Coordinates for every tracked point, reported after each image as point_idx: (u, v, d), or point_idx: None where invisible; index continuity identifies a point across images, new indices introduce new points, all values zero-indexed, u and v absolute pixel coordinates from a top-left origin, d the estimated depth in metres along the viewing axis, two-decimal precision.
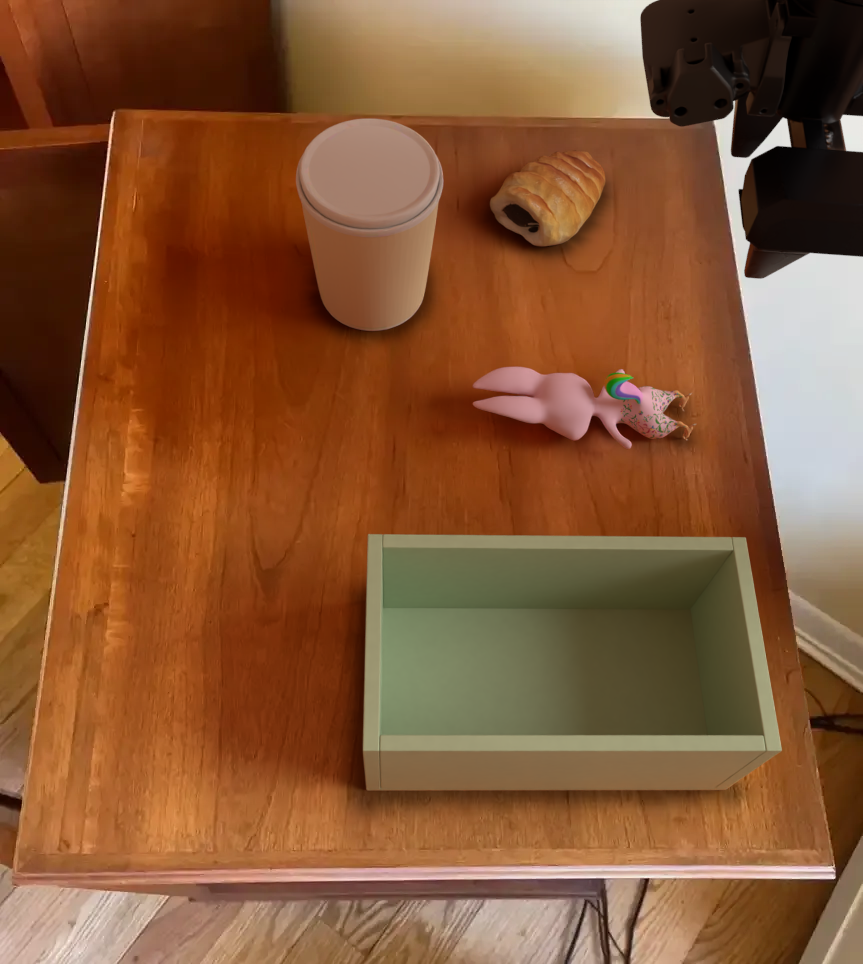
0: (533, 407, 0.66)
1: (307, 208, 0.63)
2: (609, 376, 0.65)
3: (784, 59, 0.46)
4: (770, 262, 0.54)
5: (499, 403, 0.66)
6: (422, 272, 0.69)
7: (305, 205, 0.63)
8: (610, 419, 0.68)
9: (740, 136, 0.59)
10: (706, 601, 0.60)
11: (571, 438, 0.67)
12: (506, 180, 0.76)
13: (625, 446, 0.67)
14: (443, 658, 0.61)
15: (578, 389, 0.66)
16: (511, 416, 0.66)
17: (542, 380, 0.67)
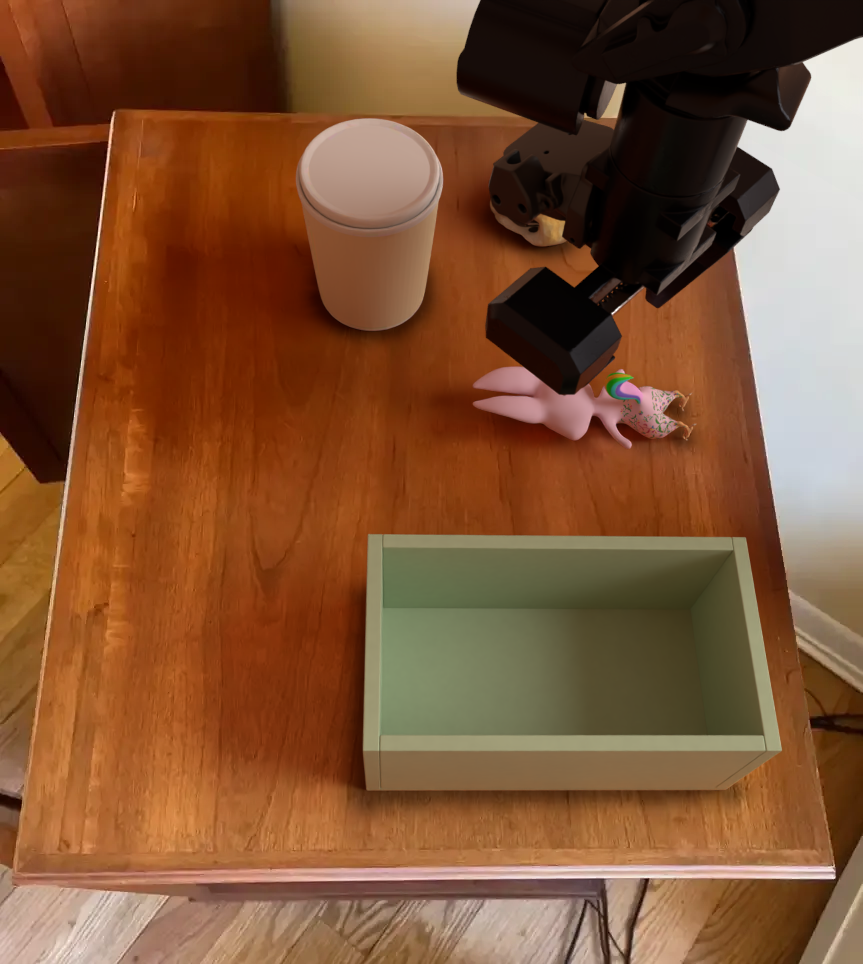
0: (533, 407, 0.66)
1: (307, 208, 0.63)
2: (609, 376, 0.65)
3: (585, 201, 0.51)
4: None
5: (499, 403, 0.66)
6: (422, 272, 0.69)
7: (305, 205, 0.63)
8: (610, 419, 0.68)
9: None
10: (706, 601, 0.60)
11: (571, 438, 0.67)
12: None
13: (625, 446, 0.67)
14: (443, 658, 0.61)
15: None
16: (511, 416, 0.66)
17: None
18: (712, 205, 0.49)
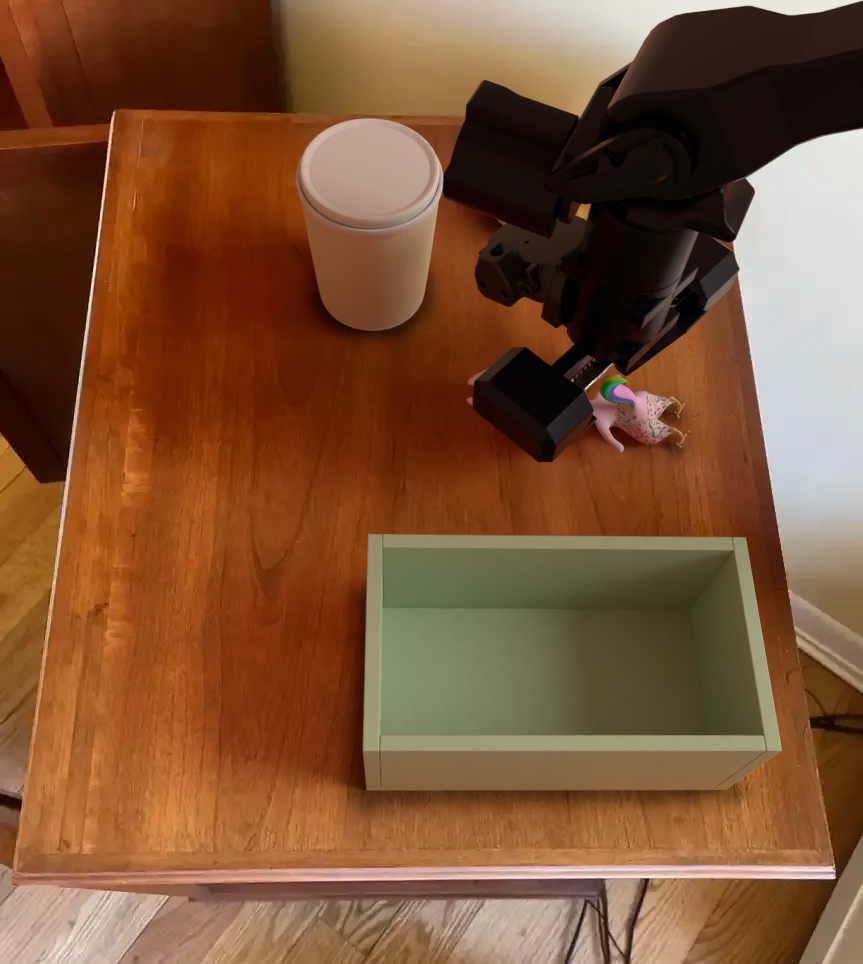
0: None
1: (307, 208, 0.63)
2: (604, 378, 0.65)
3: (560, 289, 0.57)
4: None
5: None
6: (422, 272, 0.69)
7: (305, 205, 0.63)
8: (603, 422, 0.67)
9: None
10: (706, 601, 0.60)
11: None
12: None
13: (617, 449, 0.67)
14: (443, 658, 0.61)
15: None
16: None
17: None
18: (673, 295, 0.55)
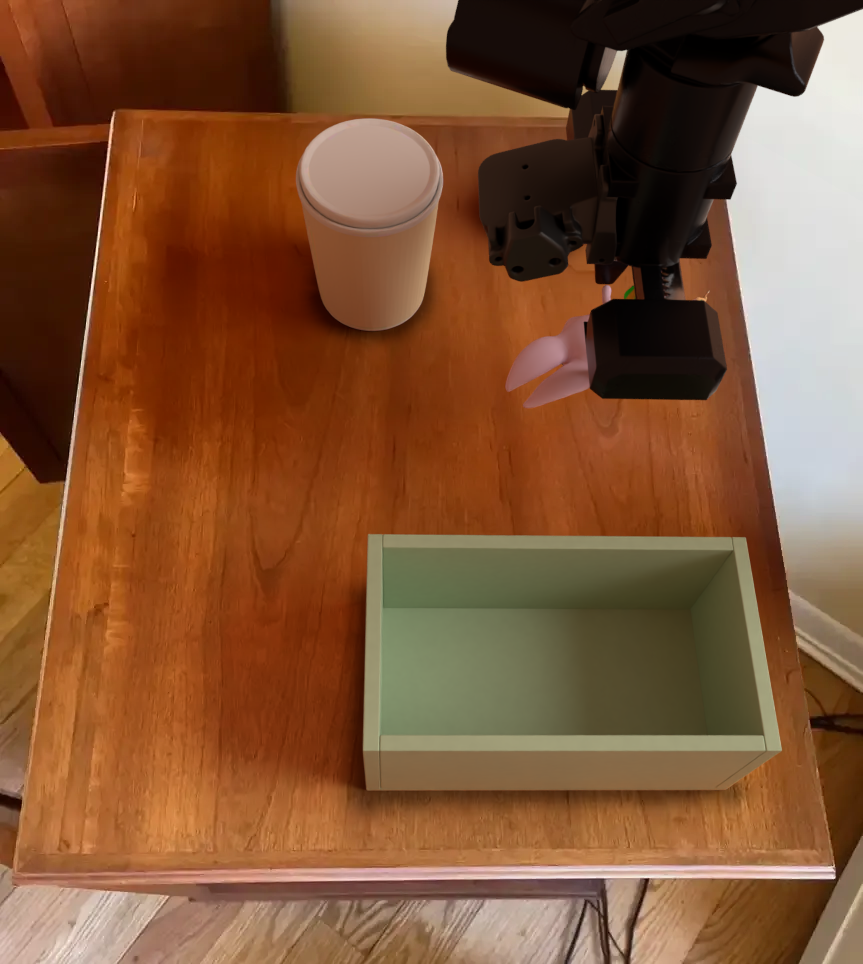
0: (583, 370, 0.56)
1: (307, 208, 0.63)
2: (631, 292, 0.57)
3: (613, 217, 0.47)
4: None
5: (552, 388, 0.55)
6: (422, 272, 0.69)
7: (305, 205, 0.63)
8: None
9: (602, 266, 0.60)
10: (706, 601, 0.60)
11: None
12: None
13: None
14: (443, 658, 0.61)
15: None
16: (573, 392, 0.55)
17: (565, 339, 0.57)
18: None
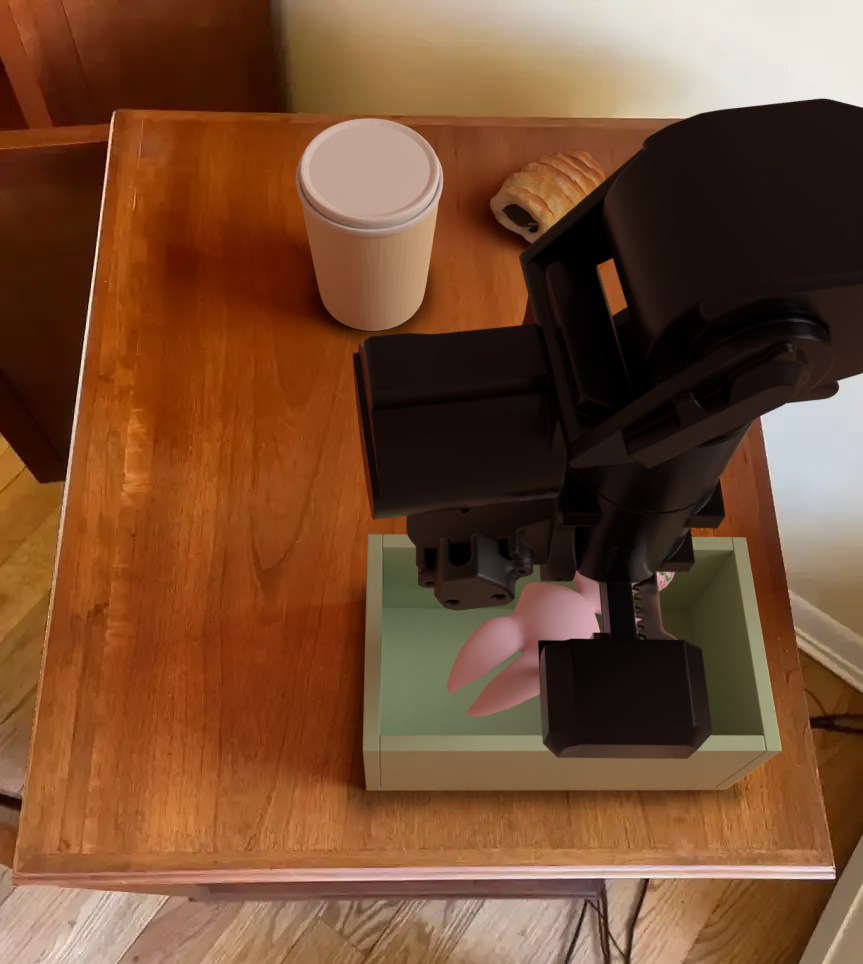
0: None
1: (307, 208, 0.63)
2: None
3: (571, 544, 0.38)
4: None
5: (503, 693, 0.46)
6: (422, 272, 0.69)
7: (305, 205, 0.63)
8: None
9: None
10: (706, 601, 0.60)
11: None
12: (506, 180, 0.76)
13: None
14: (443, 658, 0.61)
15: (572, 607, 0.47)
16: (528, 698, 0.46)
17: (521, 624, 0.47)
18: None
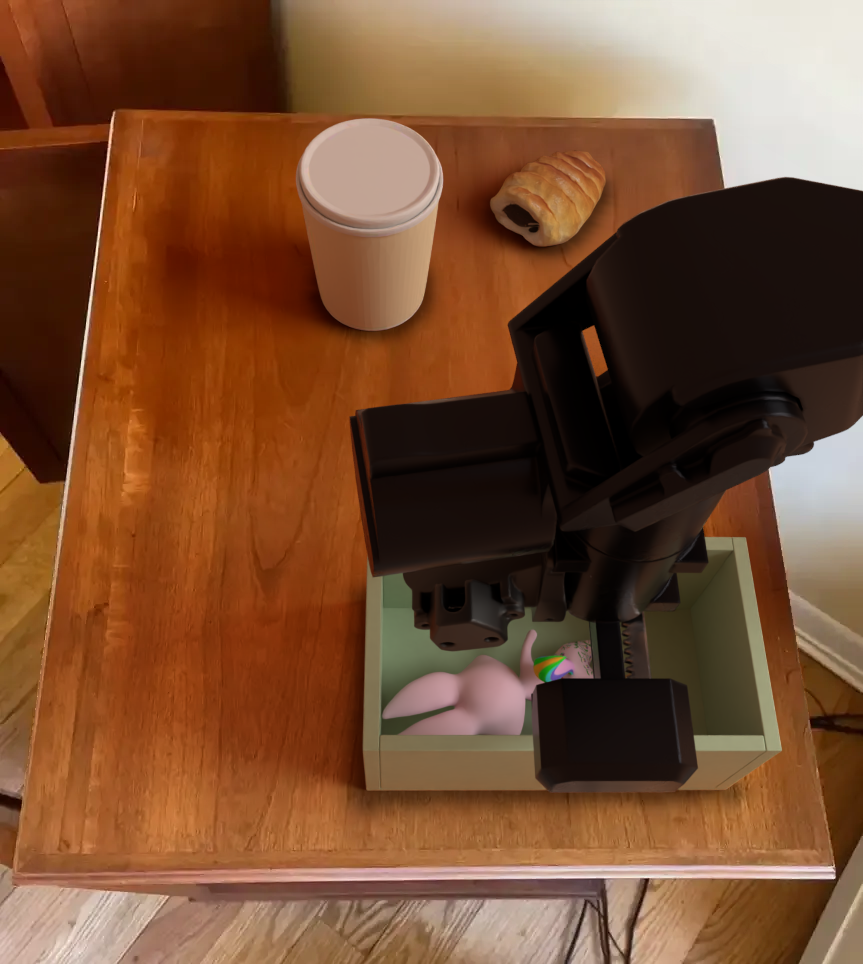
0: (463, 725, 0.54)
1: (307, 208, 0.63)
2: (539, 663, 0.55)
3: (561, 588, 0.39)
4: None
5: (424, 734, 0.54)
6: (422, 272, 0.69)
7: (305, 205, 0.63)
8: None
9: None
10: (706, 601, 0.60)
11: None
12: (506, 180, 0.76)
13: None
14: (443, 658, 0.61)
15: (507, 685, 0.55)
16: None
17: (460, 684, 0.55)
18: None
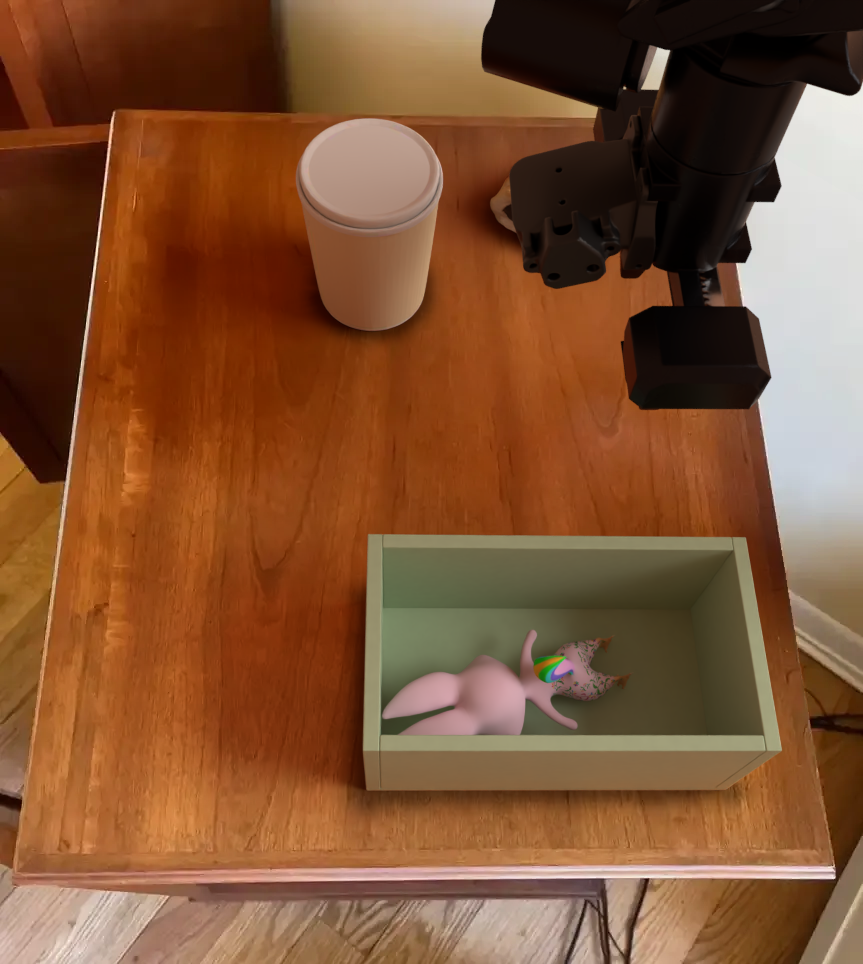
0: (463, 725, 0.54)
1: (307, 208, 0.63)
2: (539, 663, 0.55)
3: (652, 221, 0.46)
4: None
5: (424, 734, 0.54)
6: (422, 272, 0.69)
7: (305, 205, 0.63)
8: (544, 700, 0.57)
9: None
10: (706, 601, 0.60)
11: None
12: (506, 180, 0.76)
13: (571, 728, 0.57)
14: (443, 658, 0.61)
15: (507, 685, 0.55)
16: None
17: (460, 684, 0.55)
18: None
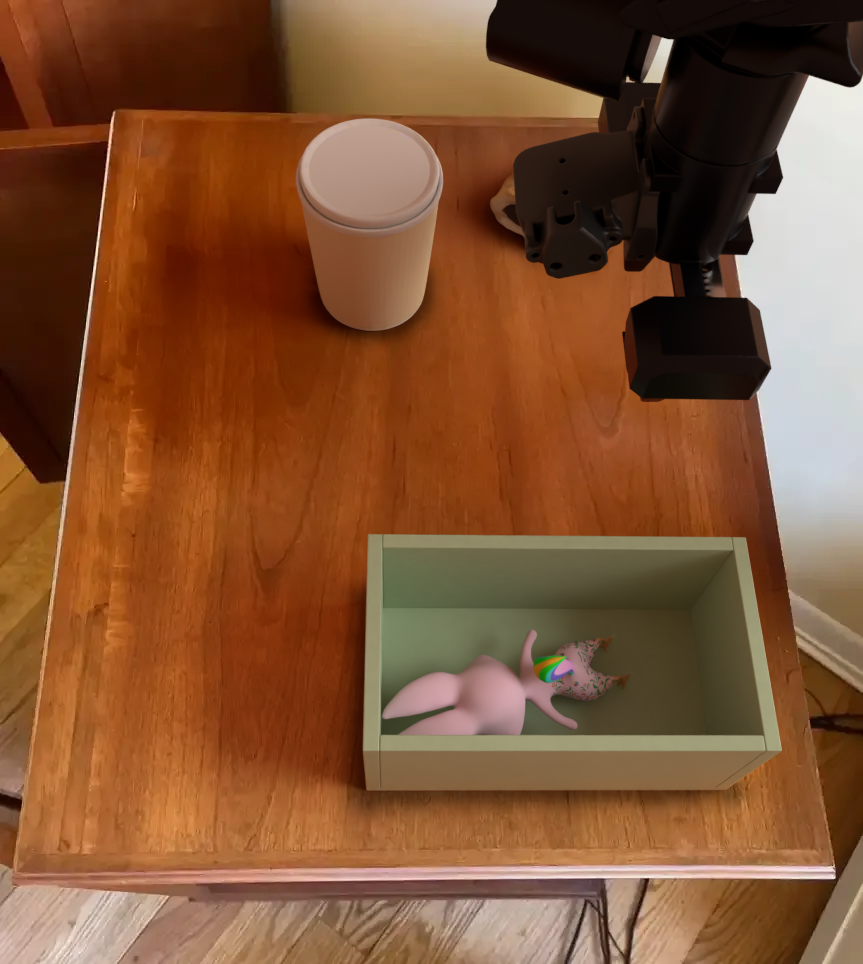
0: (463, 725, 0.54)
1: (307, 208, 0.63)
2: (539, 663, 0.55)
3: (654, 212, 0.46)
4: None
5: (424, 734, 0.54)
6: (422, 272, 0.69)
7: (305, 205, 0.63)
8: (544, 700, 0.57)
9: None
10: (706, 601, 0.60)
11: None
12: (506, 180, 0.76)
13: (571, 728, 0.57)
14: (443, 658, 0.61)
15: (507, 685, 0.55)
16: None
17: (460, 684, 0.55)
18: None
